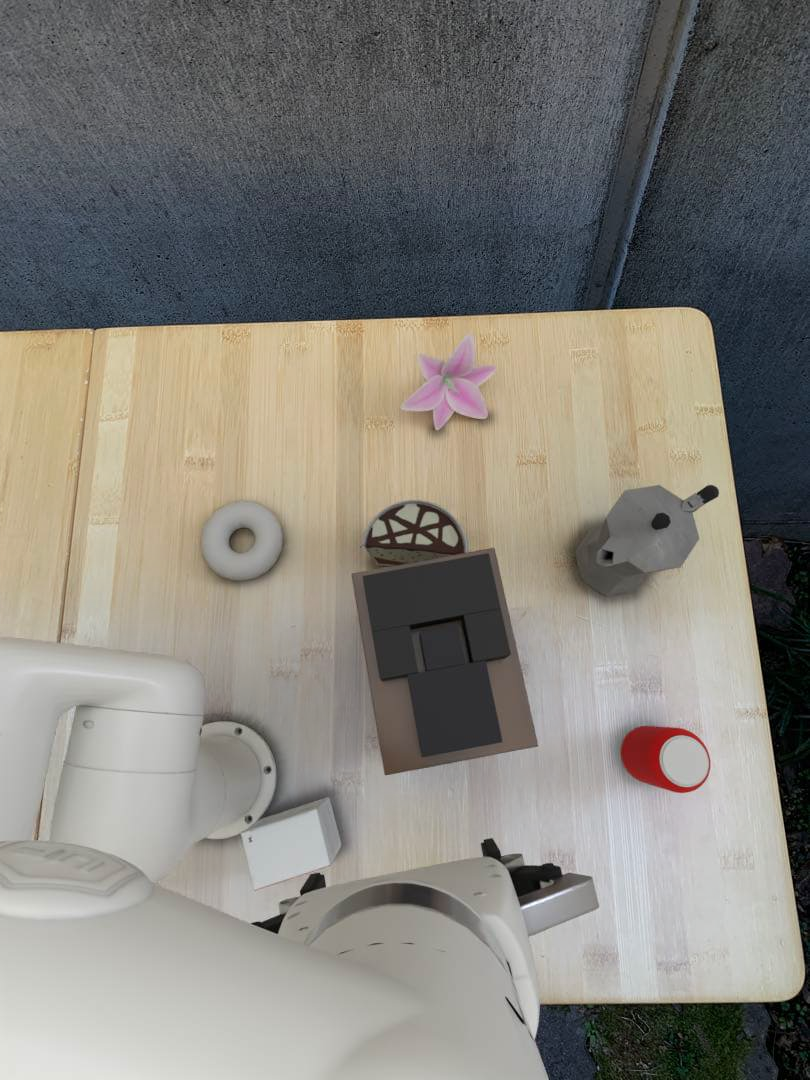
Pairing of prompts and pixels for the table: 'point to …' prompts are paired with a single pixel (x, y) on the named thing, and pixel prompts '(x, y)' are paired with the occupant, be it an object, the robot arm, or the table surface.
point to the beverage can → (666, 758)
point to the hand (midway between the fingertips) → (407, 885)
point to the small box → (291, 843)
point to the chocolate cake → (413, 534)
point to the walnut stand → (395, 694)
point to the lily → (451, 385)
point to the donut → (252, 560)
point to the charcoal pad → (451, 697)
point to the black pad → (434, 610)
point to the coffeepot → (640, 538)
